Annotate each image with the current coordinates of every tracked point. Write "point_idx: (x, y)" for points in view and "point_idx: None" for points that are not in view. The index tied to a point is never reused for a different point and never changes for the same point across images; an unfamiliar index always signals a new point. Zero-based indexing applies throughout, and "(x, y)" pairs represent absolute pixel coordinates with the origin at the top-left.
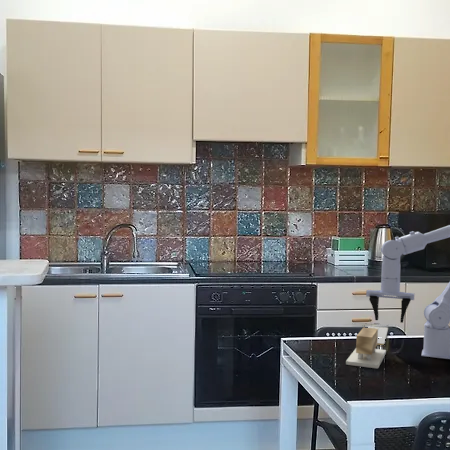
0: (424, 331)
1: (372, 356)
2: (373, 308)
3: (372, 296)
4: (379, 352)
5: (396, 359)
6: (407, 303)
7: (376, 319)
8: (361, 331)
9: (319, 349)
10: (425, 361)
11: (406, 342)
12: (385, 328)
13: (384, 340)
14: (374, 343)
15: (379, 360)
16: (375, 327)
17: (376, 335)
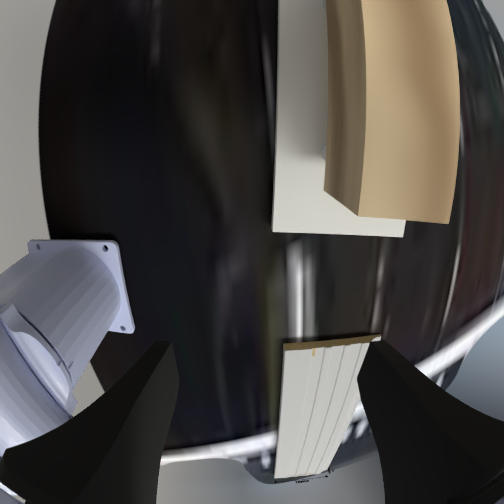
0: (72, 336)
1: (326, 61)
2: (453, 397)
3: (491, 498)
4: (301, 160)
5: (212, 123)
6: (9, 456)
7: (380, 342)
8: (450, 61)
9: (497, 183)
10: (94, 160)
11: (212, 411)
12: (280, 473)
13: (284, 392)
14: (338, 38)
15: (284, 4)
16: (304, 472)
17: (350, 129)
